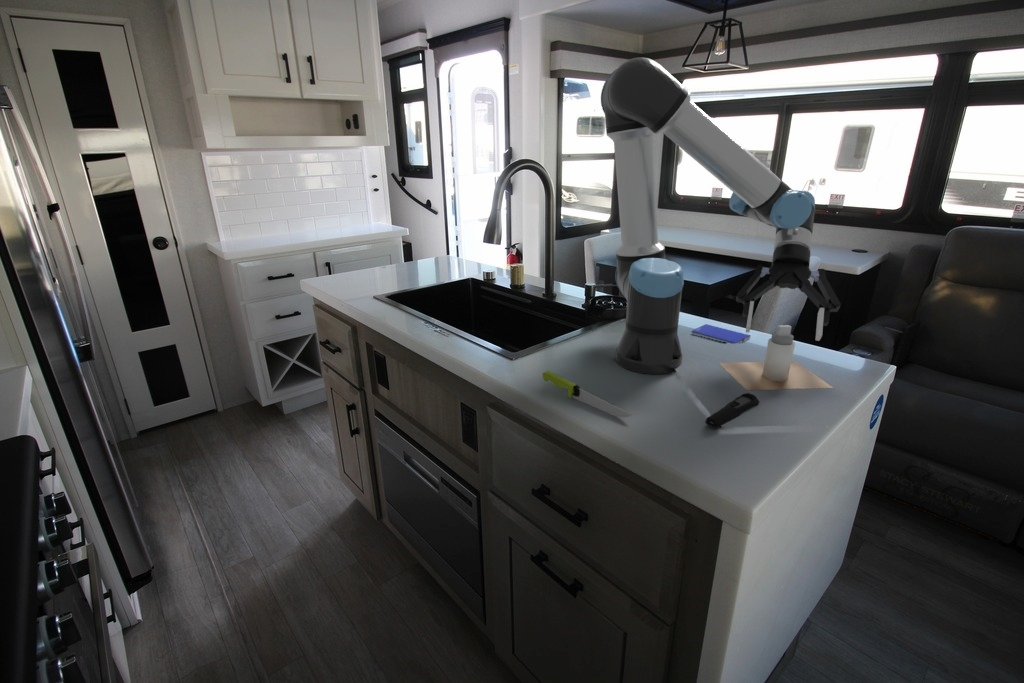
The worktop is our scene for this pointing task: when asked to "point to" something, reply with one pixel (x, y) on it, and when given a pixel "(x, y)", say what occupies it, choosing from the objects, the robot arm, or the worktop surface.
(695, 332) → the hard drive
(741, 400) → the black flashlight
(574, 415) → the worktop surface
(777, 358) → the white bottle
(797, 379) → the board
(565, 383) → the kitchen knife
